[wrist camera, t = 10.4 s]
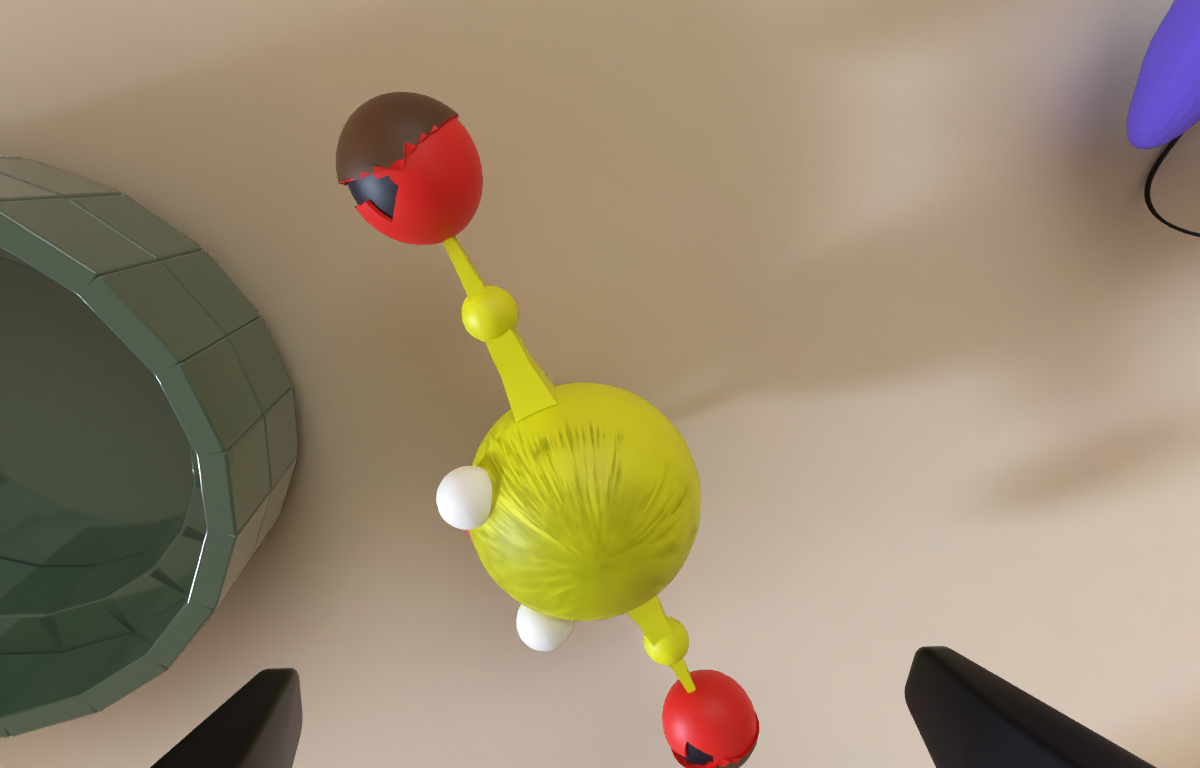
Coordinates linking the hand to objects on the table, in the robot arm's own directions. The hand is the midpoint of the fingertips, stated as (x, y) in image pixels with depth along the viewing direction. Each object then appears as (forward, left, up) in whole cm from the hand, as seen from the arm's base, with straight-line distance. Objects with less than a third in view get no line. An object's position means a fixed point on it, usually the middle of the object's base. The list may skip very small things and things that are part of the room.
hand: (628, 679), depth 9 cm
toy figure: (0, 0, -10) cm, 10 cm away
